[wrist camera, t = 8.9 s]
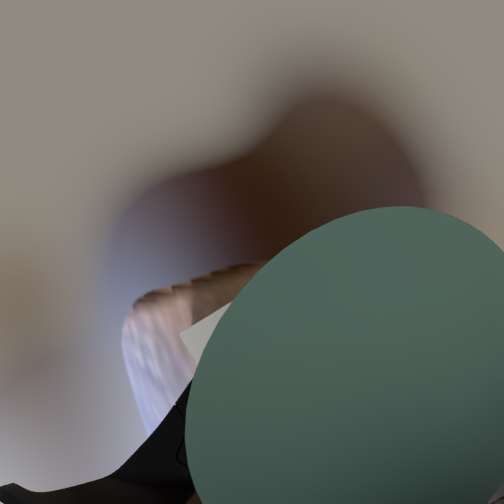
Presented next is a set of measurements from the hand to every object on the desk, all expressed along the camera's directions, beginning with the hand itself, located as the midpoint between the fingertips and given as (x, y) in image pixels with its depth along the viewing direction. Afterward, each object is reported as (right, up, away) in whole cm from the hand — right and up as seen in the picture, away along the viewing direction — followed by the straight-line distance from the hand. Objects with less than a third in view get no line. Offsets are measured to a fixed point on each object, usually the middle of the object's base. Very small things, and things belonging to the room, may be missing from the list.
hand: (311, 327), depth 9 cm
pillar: (+1, -4, +6) cm, 7 cm away
